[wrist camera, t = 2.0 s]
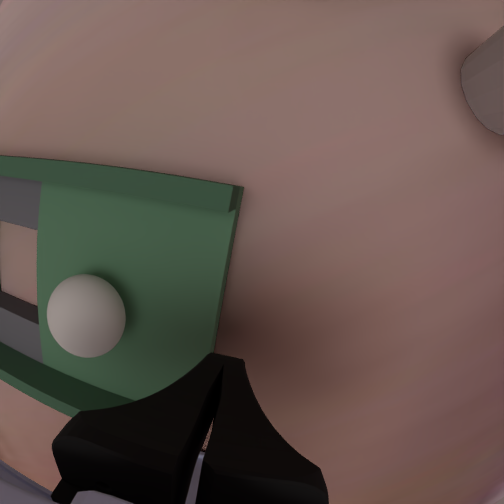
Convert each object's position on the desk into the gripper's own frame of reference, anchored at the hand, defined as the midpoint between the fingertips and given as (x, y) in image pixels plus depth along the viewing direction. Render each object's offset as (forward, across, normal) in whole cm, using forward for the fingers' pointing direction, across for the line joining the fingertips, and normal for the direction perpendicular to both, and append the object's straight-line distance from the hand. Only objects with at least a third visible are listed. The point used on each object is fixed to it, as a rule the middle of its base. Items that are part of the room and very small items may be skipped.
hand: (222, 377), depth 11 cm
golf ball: (+2, +7, 0) cm, 7 cm away
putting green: (+6, +11, -1) cm, 13 cm away
